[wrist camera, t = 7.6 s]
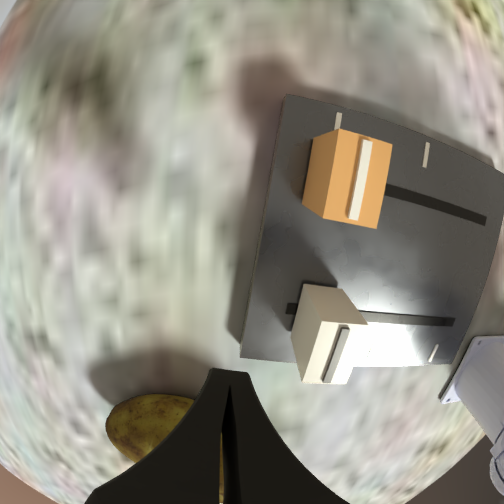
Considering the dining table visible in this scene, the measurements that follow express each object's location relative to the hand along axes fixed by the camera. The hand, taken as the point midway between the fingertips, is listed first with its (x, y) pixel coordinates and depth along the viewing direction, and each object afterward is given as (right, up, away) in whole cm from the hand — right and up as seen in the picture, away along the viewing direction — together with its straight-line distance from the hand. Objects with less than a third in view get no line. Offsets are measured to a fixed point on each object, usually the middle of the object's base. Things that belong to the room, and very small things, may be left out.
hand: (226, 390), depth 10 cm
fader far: (+5, +1, +7) cm, 9 cm away
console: (+10, +5, +8) cm, 14 cm away
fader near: (+5, +9, +5) cm, 12 cm away
